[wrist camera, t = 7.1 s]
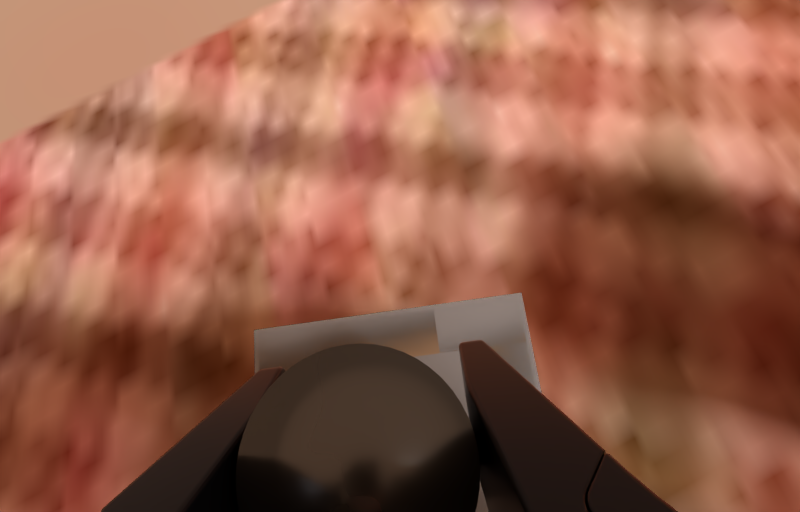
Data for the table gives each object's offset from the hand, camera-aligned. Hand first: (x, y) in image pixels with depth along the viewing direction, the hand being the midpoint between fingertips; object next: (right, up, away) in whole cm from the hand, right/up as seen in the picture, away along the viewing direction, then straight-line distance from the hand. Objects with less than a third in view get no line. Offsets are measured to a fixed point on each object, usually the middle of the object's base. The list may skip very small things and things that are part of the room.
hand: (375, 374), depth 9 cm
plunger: (+1, -4, +6) cm, 7 cm away
